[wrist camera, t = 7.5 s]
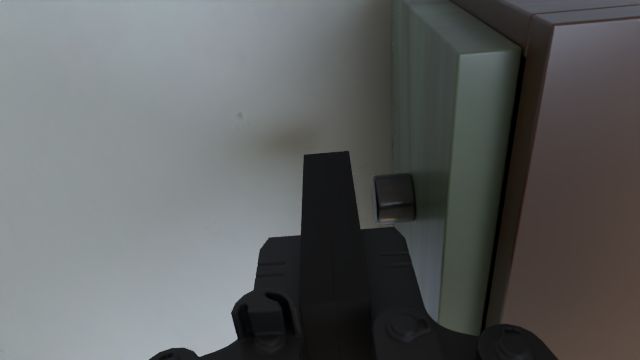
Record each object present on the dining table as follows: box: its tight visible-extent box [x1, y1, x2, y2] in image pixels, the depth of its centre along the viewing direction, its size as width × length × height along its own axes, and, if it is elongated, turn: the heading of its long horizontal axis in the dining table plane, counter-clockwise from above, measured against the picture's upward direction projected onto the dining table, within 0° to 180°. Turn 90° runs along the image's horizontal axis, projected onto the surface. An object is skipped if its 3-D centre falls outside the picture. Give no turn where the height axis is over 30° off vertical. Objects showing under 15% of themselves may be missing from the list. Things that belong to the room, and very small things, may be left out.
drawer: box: [371, 0, 526, 336], centre depth 14 cm, size 15×11×8 cm
